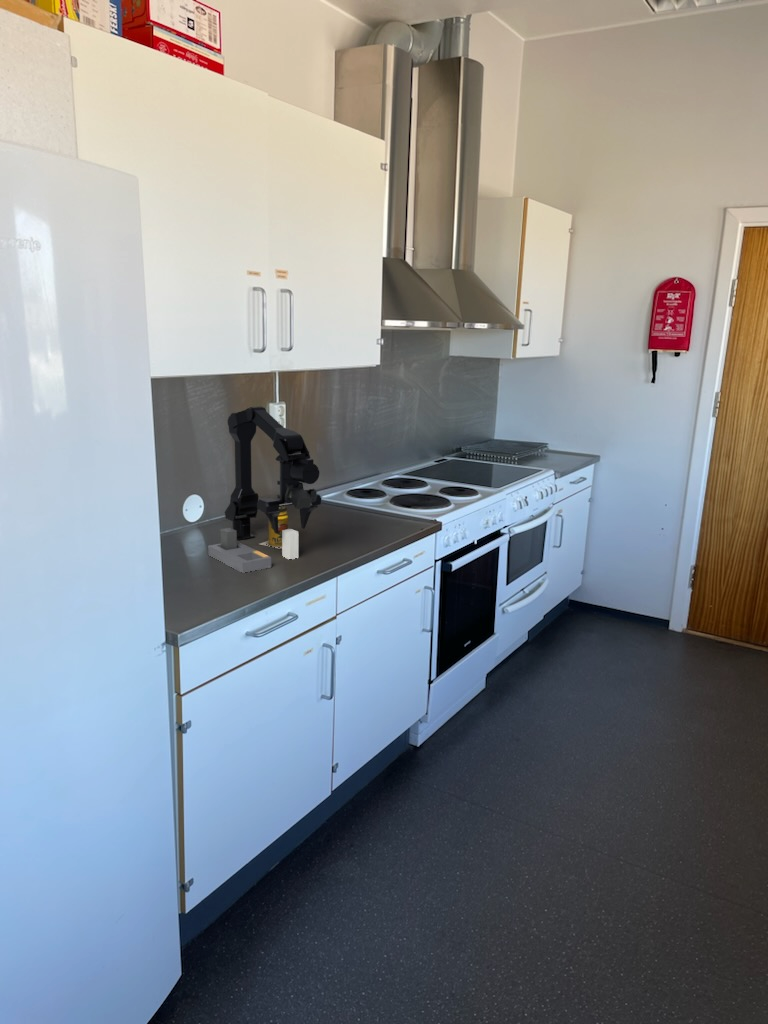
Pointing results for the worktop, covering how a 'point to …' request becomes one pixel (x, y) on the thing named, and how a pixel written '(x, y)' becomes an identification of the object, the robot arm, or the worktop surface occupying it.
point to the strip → (240, 557)
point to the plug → (290, 544)
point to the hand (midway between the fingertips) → (290, 530)
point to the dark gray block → (228, 538)
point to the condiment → (274, 538)
